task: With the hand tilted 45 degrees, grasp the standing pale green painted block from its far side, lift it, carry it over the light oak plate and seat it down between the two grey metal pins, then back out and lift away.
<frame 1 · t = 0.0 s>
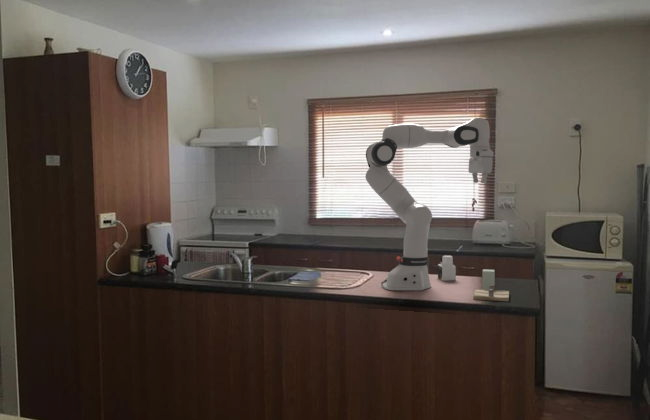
hand: (479, 182, 261), 48 cm above the countertop, tool pointing down, fingers open, 8 cm apart
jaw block: (488, 290, 252), on the countertop
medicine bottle: (446, 279, 278), on the countertop
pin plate: (491, 296, 238), on the countertop
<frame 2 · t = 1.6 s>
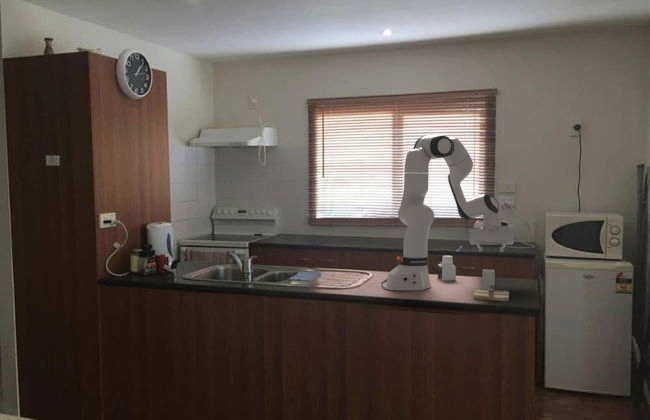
hand: (490, 250, 262), 16 cm above the countertop, tool tilted 45°, fingers open, 8 cm apart
nothing on the countertop moved.
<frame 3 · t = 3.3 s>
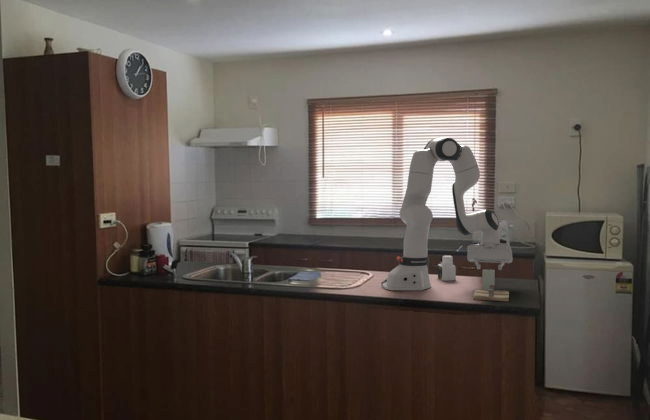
hand: (489, 268, 255), 9 cm above the countertop, tool tilted 45°, fingers open, 8 cm apart
nothing on the countertop moved.
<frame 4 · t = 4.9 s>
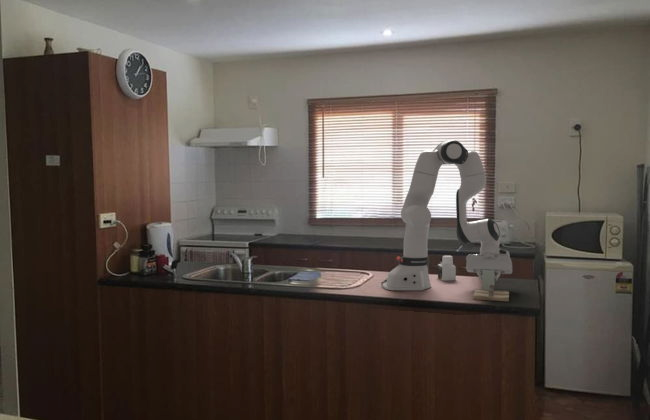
hand: (488, 279, 251), 5 cm above the countertop, tool tilted 45°, fingers closed on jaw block, 5 cm apart
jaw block: (488, 290, 252), on the countertop, touching gripper
everything else where it was.
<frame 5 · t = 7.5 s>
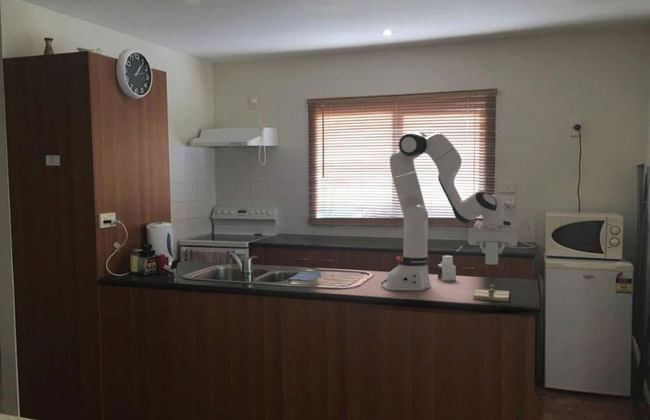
hand: (491, 252, 236), 19 cm above the countertop, tool tilted 45°, fingers closed on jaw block, 5 cm apart
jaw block: (491, 263, 237), point 14 cm above the countertop, touching gripper
everything else where it was.
when the fingers open (7 cm above the countertop, at t = 10.1 s): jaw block stays where it is, resting on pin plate.
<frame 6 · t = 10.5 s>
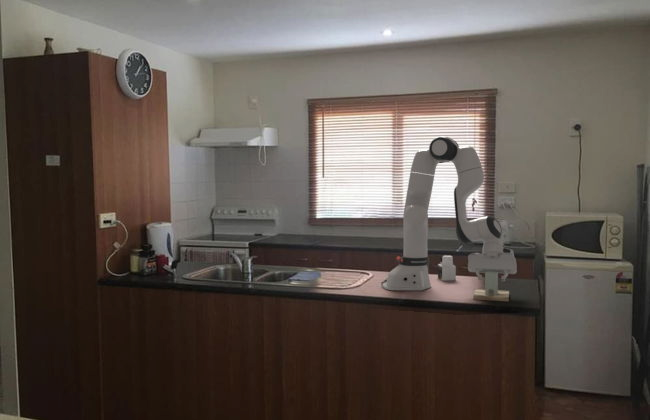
hand: (491, 280, 237), 7 cm above the countertop, tool tilted 45°, fingers open, 8 cm apart
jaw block: (491, 293, 238), point 1 cm above the countertop, touching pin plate
everything else where it was.
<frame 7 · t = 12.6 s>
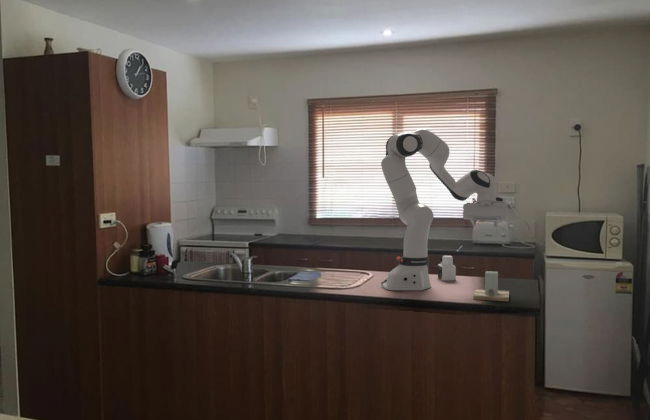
hand: (484, 225, 254), 29 cm above the countertop, tool tilted 45°, fingers open, 8 cm apart
nothing on the countertop moved.
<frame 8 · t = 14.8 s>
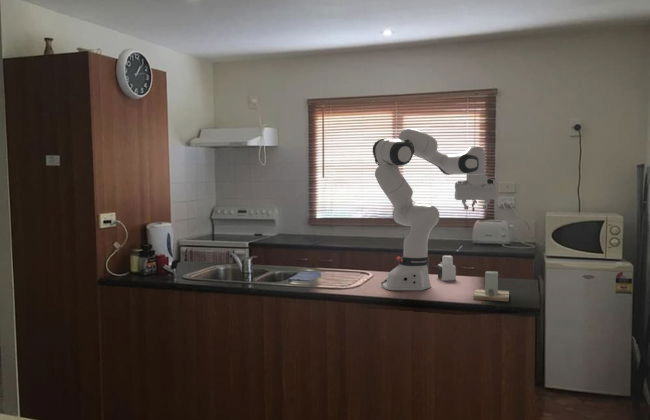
hand: (475, 209, 270), 35 cm above the countertop, tool pointing down, fingers open, 8 cm apart
nothing on the countertop moved.
at the end: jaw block inside the target area on the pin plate (0.0 cm from its centre), point 1.5 cm above the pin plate's base; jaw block tilted 0°; the gripper is holding nothing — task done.
